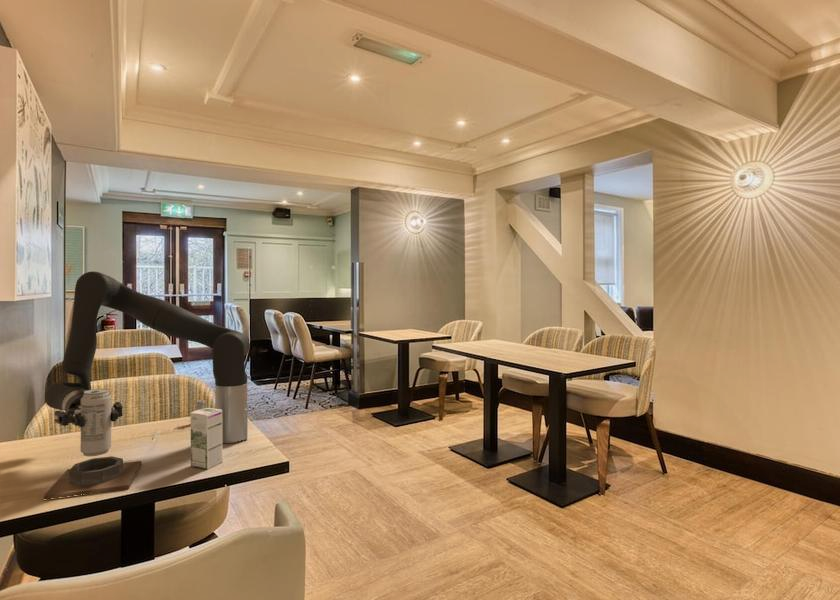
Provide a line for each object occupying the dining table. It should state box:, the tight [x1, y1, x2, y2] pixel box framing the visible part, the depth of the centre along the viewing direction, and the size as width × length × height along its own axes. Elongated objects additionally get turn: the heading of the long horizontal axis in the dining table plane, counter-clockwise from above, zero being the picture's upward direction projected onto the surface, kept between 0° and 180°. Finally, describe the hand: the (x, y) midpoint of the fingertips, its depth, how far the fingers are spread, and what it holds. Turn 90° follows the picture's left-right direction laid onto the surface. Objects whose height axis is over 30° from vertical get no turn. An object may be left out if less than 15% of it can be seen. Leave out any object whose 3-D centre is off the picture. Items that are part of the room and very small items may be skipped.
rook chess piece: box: [194, 398, 206, 411], centre depth 159 cm, size 4×4×8 cm
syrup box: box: [189, 407, 224, 470], centre depth 122 cm, size 6×6×14 cm
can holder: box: [43, 455, 142, 500], centre depth 111 cm, size 16×16×4 cm
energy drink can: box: [80, 388, 112, 457], centre depth 111 cm, size 6×6×15 cm
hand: (98, 419), depth 109 cm, fingers closed on energy drink can, 6 cm apart
